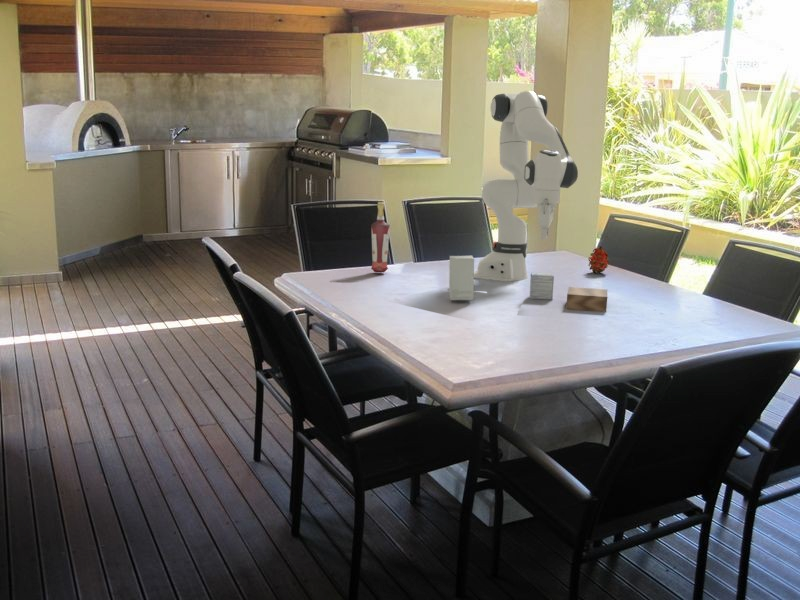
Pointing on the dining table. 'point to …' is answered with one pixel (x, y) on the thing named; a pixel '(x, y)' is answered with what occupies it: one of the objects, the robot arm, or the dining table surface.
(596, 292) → the walnut block
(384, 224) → the liquor
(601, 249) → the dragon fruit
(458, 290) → the skincare box
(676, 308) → the dining table surface
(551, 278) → the grey streaked block
